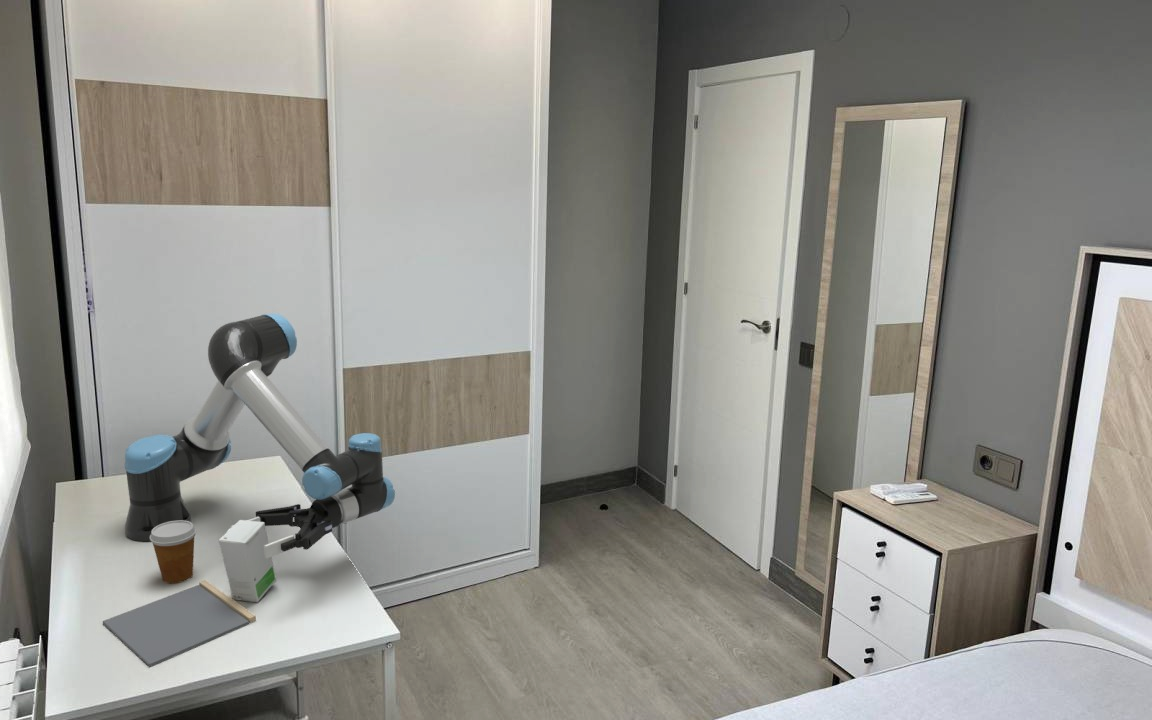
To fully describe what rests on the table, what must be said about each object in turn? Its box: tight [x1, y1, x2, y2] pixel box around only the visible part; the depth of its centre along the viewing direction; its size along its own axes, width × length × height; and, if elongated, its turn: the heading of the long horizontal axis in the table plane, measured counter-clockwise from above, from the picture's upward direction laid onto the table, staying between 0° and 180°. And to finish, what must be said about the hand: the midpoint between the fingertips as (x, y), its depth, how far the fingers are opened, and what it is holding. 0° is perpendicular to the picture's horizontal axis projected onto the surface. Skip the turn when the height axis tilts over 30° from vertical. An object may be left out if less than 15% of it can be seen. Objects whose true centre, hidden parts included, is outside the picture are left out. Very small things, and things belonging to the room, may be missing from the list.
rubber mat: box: [102, 579, 257, 668], centre depth 172 cm, size 22×22×1 cm
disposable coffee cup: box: [150, 520, 197, 584], centre depth 189 cm, size 10×10×12 cm
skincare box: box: [218, 519, 277, 603], centre depth 181 cm, size 8×7×16 cm
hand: (248, 541), depth 178 cm, fingers open, 13 cm apart
